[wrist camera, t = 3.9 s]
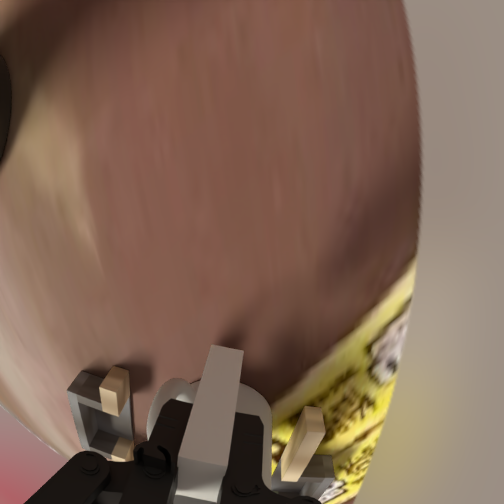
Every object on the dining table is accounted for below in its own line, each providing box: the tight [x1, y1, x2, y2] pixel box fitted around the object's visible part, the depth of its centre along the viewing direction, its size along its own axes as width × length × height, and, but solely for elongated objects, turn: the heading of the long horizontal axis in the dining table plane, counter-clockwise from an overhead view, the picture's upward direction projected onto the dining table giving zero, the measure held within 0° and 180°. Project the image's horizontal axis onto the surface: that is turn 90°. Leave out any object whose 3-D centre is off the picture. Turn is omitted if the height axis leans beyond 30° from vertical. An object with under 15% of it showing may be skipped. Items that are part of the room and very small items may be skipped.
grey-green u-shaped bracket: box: [67, 366, 335, 500], centre depth 26 cm, size 22×25×3 cm
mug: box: [147, 378, 272, 504], centre depth 19 cm, size 12×8×11 cm
